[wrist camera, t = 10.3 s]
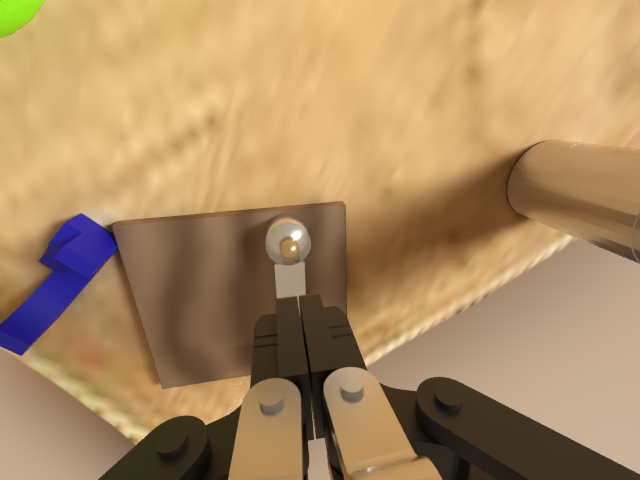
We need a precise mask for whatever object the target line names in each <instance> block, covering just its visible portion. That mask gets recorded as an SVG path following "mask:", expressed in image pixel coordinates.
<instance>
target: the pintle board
mask: <svg viewBox="0 0 640 480" xmlns="http://www.w3.org/2000/svg"><path fill="white" fill-rule="evenodd" d="M282 214H291V215H295V216H297V217H298V218H300V219H301V220H302V221H303V222H304V224H305V226H306V229H307V231H308V234H309V236H310V240H311V248H310V251H309V253H308V255H307V256H306V257H305V259H304V262H305V289H306V295H308V294H317V293H320V296H321V300H322V304H323V307H330V306H337V307H338V308H340V309H341V310H342V311H343V312H344V313H345V314H346V316H347V286H346V205H345V204H344V203H343V202H342V201H341V202H330V203H318V204H307V205H296V206H284V207H273V208H262V209H250V210H239V211H228V212H216V213H205V214H194V215H182V216H171V217H160V218H148V219H137V220H126V221H118V222H116V223H115V224H114V225H113V226H112V229H113V232H114V235H115V238H116V242H117V245H118V248H119V251H120V254H121V258H122V261H123V264H124V267H125V271H126V274H127V277H128V280H129V283H130V287H131V290H132V293H133V296H134V299H135V303H136V306H137V309H138V312H139V315H140V319H141V322H142V325H143V328H144V332H145V335H146V338H147V341H148V344H149V348H150V351H151V354H152V357H153V360H154V364H155V367H156V370H157V373H158V376H159V380H160V383H161V386H162V389H165V388H172V387H178V386H184V385H191V384H197V383H203V382H209V381H216V380H222V379H228V378H235V377H241V376H247V375H251V369H252V354H253V339H254V326H255V324H256V323H257V321H258V320H259V318H260V317H261V315H267V314H275V313H276V298H277V295H276V282H275V269H274V261H273V260H272V259H271V258H270V257H269V255H268V254H267V251H266V247H265V230H266V227H267V225H268V223H269V222H270V221H271V220H272V219H273V218H274V217H276V216H278V215H282Z"/></svg>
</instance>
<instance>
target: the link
mask: <svg viewBox="0 0 640 480" xmlns="http://www.w3.org/2000/svg"><path fill="white" fill-rule="evenodd" d="M265 247H266V251H267V254H268V255H269V257H270V258H271V259H272V260H273V261H274V269H275V282H276V295H277V298H284V297H292V296H297V300H298V306H299V296H300V295H306V289H305V262H304V259H305V257H306V256H307V255H308V253H309V251H310V248H311V240H310V236H309V234H308V231H307V229H306V226H305V224H304V222H303V221H302V220H301V219H300V218H298V217H297V216H295V215H291V214H282V215H278V216H276V217H274V218H273V219H272V220H271V221H270V222H269V223H268V225H267V227H266V230H265ZM299 313H300V308H299Z"/></svg>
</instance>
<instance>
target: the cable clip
mask: <svg viewBox="0 0 640 480" xmlns="http://www.w3.org/2000/svg"><path fill="white" fill-rule="evenodd" d="M117 249H118V245H117V242H116V238H115V235H114V234H112V233H111V232H109V231H108V230H106V229H105V228H103V227H102V226H100V225H99V224H97V223H96V222H94V221H93V220H91V219H90V218H88V217H87V216H85V215H84V214H82V213H81V214H79V215H78V216H76V217H74V218H73V219H71V220H69V221H67V222H66V223H65V224H64V225H63V226H62V228H61V229H60V230H59V231H58V233H57V234H56V235H55V236H54V238H53V239H52V240H51V241H50V242H49V247H48V249H47V251H46V252H45V254H44V255H43V256H42V258H41V259H40V260H39V262H41V263H42V264H44V265H46V266H48V267H49V268H51V269H53V270H54V271H53V272H52V274H51V275H50V276H49V277H48V278H47V279H46V280H45V281H44V283H43V284H42V285H41V286H40V287H39V288H38V289H37V290H36V291H35V292H34V293H33V294H32V295H31V296H30V297H29V298H28V299H27V300H26V301H25V302H24V303H23V304H22V305H21V306H20V307H19V308H18V309H17V310H16V311H15V312H14V313H13V314H11V315H10V316H9V317H8V318H7V319H6V320H5V321H4V322H3V323H1V324H0V346H1V347H3V348H5V349H7V350H10V351H12V352H14V353H16V354H18V355H21V356H22V355H23V354H24V353H25V352H26V351H27V350H28V349H29V348H30V347H31V346H32V345H33V343H34V342H35V341H36V340H37V339H38V338H39V337H40V336H41V335H42V334H43V333H44V332H45V331H46V330H47V329H48V328H49V327H50V326H51V325H52V324H53V323H54V322H55V321H56V320H57V319H58V318H59V316H60V315H61V314H62V313H63V312H64V311H65V309H66V308H67V307H68V306H69V305H70V304H71V303H72V301H73V300H74V299H75V298H76V297H77V296H78V294H79V293H80V292H81V291H82V290H83V289H84V287H85V286H86V285H87V284H88V283H89V282H90V281H91V279H92V278H93V277H94V276H95V275H96V274H97V272H98V271H99V270H100V269H101V268H102V267H103V265H104V264H105V263H106V262H107V261H108V260H109V259H110V257H111V256H112V255H113V254H114V253H115V252H116V250H117Z"/></svg>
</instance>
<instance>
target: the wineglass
mask: <svg viewBox="0 0 640 480" xmlns="http://www.w3.org/2000/svg"><path fill="white" fill-rule="evenodd" d="M43 1H44V0H0V37H3V36H7V35H10V34H12V33H14V32H15V31H16V30H18V29H19V28H20V27H22V26H23V25H25V24H26V23H27V22H29V21H30V20H31V19H32V18H33V17H34V15H35V14H36V12H37V11H38V9H39V8H40V6H41V4H42V3H43Z"/></svg>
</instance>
